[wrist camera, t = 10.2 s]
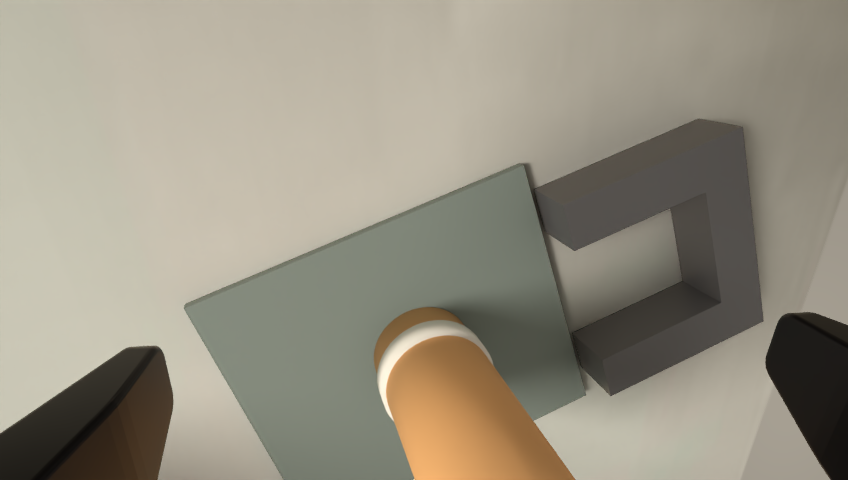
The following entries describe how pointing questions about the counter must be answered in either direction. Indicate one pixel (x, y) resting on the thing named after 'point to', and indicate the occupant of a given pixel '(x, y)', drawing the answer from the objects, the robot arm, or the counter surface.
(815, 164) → the counter surface
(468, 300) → the mat
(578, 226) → the dark grey piece
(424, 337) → the orange peg
